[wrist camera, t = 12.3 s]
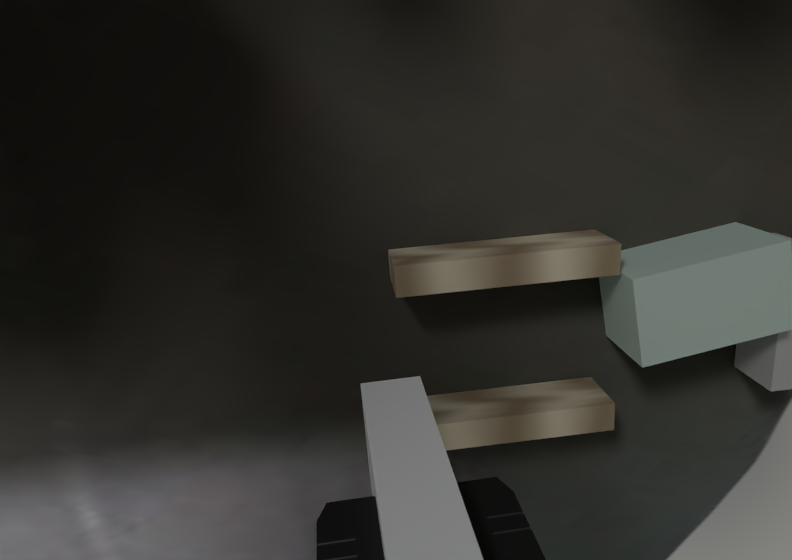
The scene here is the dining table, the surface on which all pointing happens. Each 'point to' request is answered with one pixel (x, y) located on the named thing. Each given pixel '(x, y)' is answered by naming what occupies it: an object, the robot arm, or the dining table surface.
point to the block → (698, 293)
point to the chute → (500, 267)
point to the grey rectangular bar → (767, 358)
